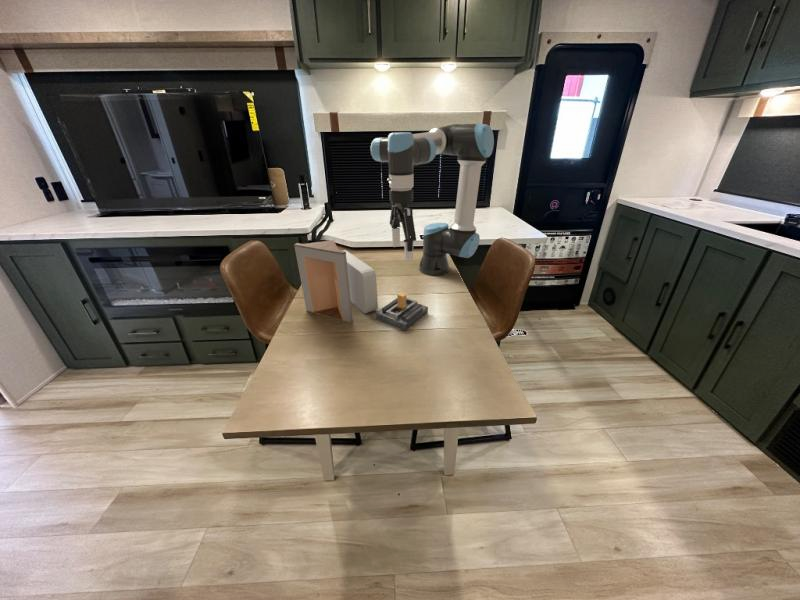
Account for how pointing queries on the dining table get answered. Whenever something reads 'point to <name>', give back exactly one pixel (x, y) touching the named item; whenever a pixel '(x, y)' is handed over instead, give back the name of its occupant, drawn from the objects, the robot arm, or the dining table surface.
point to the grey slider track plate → (407, 315)
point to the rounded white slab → (361, 284)
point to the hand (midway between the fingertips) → (402, 252)
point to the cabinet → (325, 279)
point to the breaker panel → (395, 316)
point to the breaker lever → (401, 301)
